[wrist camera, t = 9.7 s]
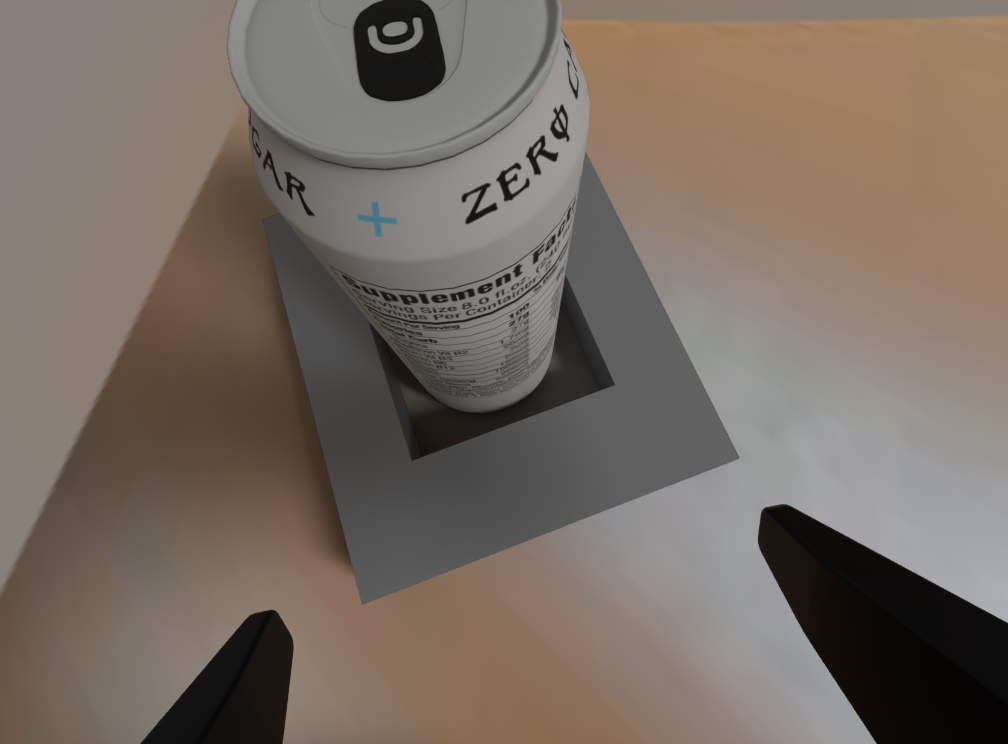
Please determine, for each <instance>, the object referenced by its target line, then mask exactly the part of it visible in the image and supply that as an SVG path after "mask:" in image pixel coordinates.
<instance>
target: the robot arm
mask: <svg viewBox="0 0 1008 744" xmlns="http://www.w3.org/2000/svg"><path fill="white" fill-rule="evenodd" d="M758 544H759V548H760V551H761V553H762V555H763V557H764V558H765V560H766V562H767V564H768V566H769V568H770V570H771V572H772V574H773V575H774V577H775V579H776V581H777V583H778V585H779V587H780V589H781V591H782V593H783V594H784V596H785V598H786V600H787V602H788V604H789V606H790V608H791V610H792V611H793V613H794V615H795V617H796V619H797V621H798V623H799V624H800V626H801V628H802V630H803V632H804V633H805V635H806V636H807V638H808V640H809V641H810V643H811V644H812V646H813V648H814V649H815V651H816V652H817V654H818V655H819V657H820V658H821V660H822V661H823V663H824V664H825V666H826V667H827V669H828V670H829V672H830V673H831V675H832V676H833V678H834V679H835V681H836V682H837V684H838V686H839V687H840V689H841V690H842V692H843V693H844V695H845V696H846V698H847V699H848V701H849V702H850V704H851V705H852V707H853V708H854V710H855V711H856V713H857V714H858V716H859V717H860V719H861V720H862V722H863V723H864V725H865V727H866V728H867V730H868V731H869V733H870V734H871V736H872V737H873V739H874V740H875V742H876V743H877V744H1008V623H1007V622H1005V621H1003V620H1001V619H999V618H998V617H996V616H994V615H992V614H990V613H988V612H986V611H985V610H983V609H981V608H979V607H977V606H975V605H973V604H972V603H970V602H968V601H966V600H964V599H962V598H960V597H959V596H957V595H955V594H953V593H951V592H949V591H947V590H946V589H944V588H942V587H940V586H938V585H936V584H934V583H933V582H931V581H929V580H927V579H925V578H923V577H921V576H920V575H918V574H916V573H914V572H912V571H910V570H908V569H907V568H905V567H903V566H901V565H899V564H897V563H895V562H894V561H892V560H890V559H888V558H886V557H884V556H882V555H881V554H879V553H877V552H875V551H873V550H871V549H869V548H868V547H866V546H864V545H862V544H860V543H858V542H856V541H855V540H853V539H851V538H849V537H847V536H845V535H843V534H842V533H840V532H838V531H836V530H834V529H832V528H830V527H828V526H827V525H825V524H823V523H821V522H819V521H817V520H815V519H814V518H812V517H810V516H808V515H806V514H804V513H802V512H801V511H799V510H797V509H795V508H793V507H791V506H789V505H786V504H780V505H775V506H770V507H766V508H764V509H763V510H762V512H761V518H760V525H759V533H758ZM293 649H294V647H293V639H292V636H291V634H290V632H289V631H288V629H287V627H286V626H285V624H284V622H283V621H282V619H281V617H280V616H279V614H278V613H277V612H276V611H274V610H268V611H263V612H258V613H254V614H252V615H250V616H249V617H248V618H247V619H246V620H245V621H244V622H243V623H242V624H241V625H240V627H239V628H238V629H237V630H236V631H235V633H234V634H233V635H232V636H231V637H230V638H229V640H228V641H227V642H226V643H225V644H224V646H223V647H222V648H221V649H220V650H219V651H218V653H217V654H216V655H215V656H214V657H213V659H212V660H211V661H210V662H209V663H208V664H207V666H206V667H205V668H204V669H203V670H202V672H201V673H200V674H199V675H198V676H197V677H196V679H195V680H194V681H193V682H192V683H191V685H190V686H189V687H188V688H187V689H186V690H185V692H184V693H183V694H182V695H181V696H180V697H179V699H178V700H177V701H176V702H175V703H174V705H173V706H172V707H171V708H170V709H169V710H168V712H167V713H166V714H165V715H164V716H163V718H162V719H161V720H160V721H159V722H158V723H157V725H156V726H155V727H154V728H153V729H152V731H151V732H150V733H149V734H148V735H147V736H146V738H145V739H144V740H143V741H142V742H141V744H282V743H283V736H284V729H285V720H286V711H287V703H288V694H289V685H290V676H291V668H292V659H293Z"/></svg>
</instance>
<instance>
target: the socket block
mask: <svg viewBox="0 0 1008 744" xmlns="http://www.w3.org/2000/svg"><path fill="white" fill-rule="evenodd" d="M263 223H264V227H265V231H266V234H267V238H268V242H269V246H270V250H271V254H272V258H273V261H274V265H275V269H276V273H277V277H278V281H279V285H280V289H281V292H282V296H283V300H284V304H285V308H286V312H287V316H288V319H289V323H290V327H291V331H292V335H293V339H294V343H295V347H296V350H297V354H298V358H299V362H300V366H301V370H302V374H303V377H304V381H305V385H306V389H307V393H308V397H309V401H310V405H311V408H312V412H313V416H314V420H315V424H316V428H317V432H318V435H319V439H320V443H321V447H322V451H323V455H324V459H325V463H326V466H327V470H328V474H329V478H330V482H331V486H332V490H333V493H334V497H335V501H336V505H337V509H338V513H339V517H340V521H341V524H342V528H343V532H344V536H345V540H346V544H347V548H348V551H349V555H350V559H351V563H352V567H353V571H354V575H355V579H356V582H357V586H358V590H359V594H360V598H361V602H362V604H365V603H368V602H370V601H373V600H375V599H378V598H381V597H383V596H386V595H388V594H391V593H393V592H396V591H399V590H401V589H404V588H406V587H409V586H412V585H414V584H417V583H419V582H422V581H424V580H427V579H430V578H432V577H435V576H437V575H440V574H442V573H445V572H448V571H450V570H453V569H455V568H458V567H461V566H463V565H466V564H468V563H471V562H473V561H476V560H479V559H481V558H484V557H486V556H489V555H491V554H494V553H497V552H499V551H502V550H504V549H507V548H510V547H512V546H515V545H517V544H520V543H522V542H525V541H528V540H530V539H533V538H535V537H538V536H541V535H543V534H546V533H548V532H551V531H553V530H556V529H559V528H561V527H564V526H566V525H569V524H571V523H574V522H577V521H579V520H582V519H584V518H587V517H590V516H592V515H595V514H597V513H600V512H602V511H605V510H608V509H610V508H613V507H615V506H618V505H621V504H623V503H626V502H628V501H631V500H633V499H636V498H639V497H641V496H644V495H646V494H649V493H651V492H654V491H657V490H659V489H662V488H664V487H667V486H670V485H672V484H675V483H677V482H680V481H682V480H685V479H688V478H690V477H693V476H695V475H698V474H700V473H703V472H706V471H708V470H711V469H713V468H716V467H719V466H721V465H724V464H726V463H729V462H731V461H734V460H737V459H739V456H738V454H737V452H736V450H735V448H734V446H733V444H732V442H731V440H730V438H729V436H728V434H727V432H726V430H725V428H724V426H723V424H722V422H721V420H720V418H719V416H718V414H717V412H716V410H715V408H714V406H713V404H712V402H711V400H710V398H709V396H708V394H707V392H706V390H705V388H704V386H703V384H702V382H701V380H700V378H699V376H698V374H697V372H696V370H695V368H694V366H693V364H692V362H691V360H690V358H689V356H688V354H687V352H686V350H685V348H684V346H683V344H682V342H681V340H680V338H679V336H678V334H677V332H676V331H675V329H674V327H673V325H672V323H671V321H670V319H669V317H668V315H667V313H666V311H665V309H664V307H663V305H662V303H661V301H660V299H659V297H658V295H657V293H656V291H655V289H654V287H653V285H652V283H651V281H650V279H649V277H648V275H647V273H646V271H645V269H644V267H643V265H642V263H641V261H640V259H639V257H638V255H637V253H636V251H635V249H634V247H633V245H632V243H631V241H630V239H629V237H628V235H627V233H626V231H625V229H624V227H623V225H622V223H621V221H620V219H619V217H618V215H617V213H616V211H615V209H614V207H613V205H612V203H611V201H610V199H609V197H608V195H607V193H606V191H605V189H604V187H603V185H602V183H601V181H600V179H599V177H598V175H597V173H596V171H595V169H594V167H593V166H592V164H591V162H590V160H589V158H588V156H587V154H586V152H585V156H584V162H583V169H582V175H581V181H580V187H579V193H578V199H577V205H576V211H575V217H574V224H573V230H572V236H571V242H570V248H569V254H568V260H567V266H566V273H565V279H564V285H563V291H562V297H561V301H562V303H563V306H564V308H565V310H566V312H567V315H568V317H569V319H570V321H571V324H572V326H573V328H574V331H575V333H576V335H577V337H578V340H579V342H580V344H581V347H582V349H583V351H584V353H585V356H586V358H587V360H588V362H589V365H590V367H591V369H592V372H593V374H594V376H595V378H596V381H597V383H598V385H599V388H600V390H601V391H598V392H595V393H593V394H590V395H587V396H584V397H582V398H579V399H576V400H574V401H571V402H568V403H566V404H563V405H560V406H558V407H555V408H552V409H550V410H547V411H544V412H542V413H539V414H536V415H534V416H531V417H528V418H525V419H523V420H520V421H517V422H515V423H512V424H509V425H507V426H504V427H501V428H499V429H496V430H493V431H491V432H488V433H485V434H483V435H480V436H477V437H475V438H472V439H469V440H466V441H464V442H461V443H458V444H456V445H453V446H450V447H448V448H445V449H442V450H440V451H437V452H434V453H432V454H429V455H426V456H424V457H422V454H421V451H420V448H419V445H418V442H417V439H416V435H415V432H414V429H413V426H412V423H411V420H410V417H409V413H408V410H407V407H406V404H405V401H404V398H403V394H402V391H401V388H400V385H399V382H398V379H397V375H396V372H395V369H394V366H393V363H392V360H391V357H390V353H389V350H388V347H387V344H386V341H385V340H384V338H383V337H382V336H381V335H380V334H379V332H378V331H377V330H376V329H375V328H374V326H373V325H372V324H371V323H370V322H369V320H368V319H367V318H366V317H365V316H364V314H363V313H362V312H361V311H360V310H359V308H358V307H357V306H356V305H355V304H354V302H353V301H352V300H351V299H350V298H349V296H348V295H347V294H346V293H345V292H344V290H343V289H342V288H341V287H340V285H339V284H338V283H337V282H336V281H335V279H334V278H333V277H332V276H331V275H330V273H329V272H328V271H327V270H326V269H325V267H324V266H323V265H322V264H321V263H320V261H319V260H318V259H317V258H316V257H315V255H314V254H313V253H312V252H311V251H310V249H309V248H308V247H307V246H306V245H305V243H304V242H303V241H302V240H301V239H300V237H299V236H298V235H297V234H296V233H295V231H294V230H293V229H292V228H291V227H290V225H289V224H288V223H287V222H286V221H285V219H284V218H283V217H282V216H281V214H277V215H274V216H271V217H268V218H265V219H263Z"/></svg>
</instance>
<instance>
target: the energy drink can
mask: <svg viewBox="0 0 1008 744" xmlns="http://www.w3.org/2000/svg"><path fill="white" fill-rule="evenodd" d="M561 22H562V9H561V2H560V0H236V3H235V6H234V9H233V12H232V15H231V18H230V21H229V27H228V39H227V53H228V59H229V65H230V70H231V75H232V77H233V79H234V81H235V84H236V86H237V88H238V90H239V92H240V94H241V97H242V98H243V100H244V102H245V103H246V105H247V106H248V108H249V141H250V147H251V152H252V158H253V163H254V169H255V172H256V174H257V177H258V179H259V181H260V183H261V185H262V188H263V190H264V192H265V194H266V196H267V198H268V199H269V200H270V202H271V203H272V204H273V205H274V207H275V208H276V209H277V210H278V212H279V213H280V214H281V216H282V217H283V218H284V219H285V221H286V222H287V223H288V224H289V225H290V227H291V228H292V229H293V230H294V231H295V233H296V234H297V235H298V236H299V237H300V239H301V240H302V241H303V242H304V243H305V245H306V246H307V247H308V248H309V249H310V251H311V252H312V253H313V254H314V255H315V257H316V258H317V259H318V260H319V261H320V263H321V264H322V265H323V266H324V267H325V269H326V270H327V271H328V272H329V273H330V275H331V276H332V277H333V278H334V279H335V281H336V282H337V283H338V284H339V285H340V287H341V288H342V289H343V290H344V292H345V293H346V294H347V295H348V296H349V298H350V299H351V300H352V301H353V302H354V304H355V305H356V306H357V307H358V308H359V310H360V311H361V312H362V313H363V314H364V316H365V317H366V318H367V319H368V320H369V322H370V323H371V324H372V325H373V326H374V328H375V329H376V330H377V331H378V332H379V334H380V335H381V336H382V337H383V338H384V340H385V341H386V342H387V343H388V344H389V346H390V347H391V348H392V349H393V350H394V352H395V353H396V354H397V355H398V356H399V358H400V359H401V360H402V361H403V362H404V364H405V365H406V366H407V367H408V369H409V370H410V371H411V372H412V373H413V375H414V376H415V377H416V378H417V379H418V381H419V382H420V383H421V384H422V385H423V387H424V388H425V389H426V390H427V391H428V393H430V394H431V395H432V396H433V397H434V398H436V399H437V400H438V401H439V402H441V403H443V404H445V405H447V406H449V407H451V408H453V409H457V410H460V411H463V412H470V413H489V412H496V411H499V410H502V409H506V408H509V407H511V406H513V405H514V404H516V403H518V402H520V401H522V400H523V399H524V398H525V397H527V396H528V395H529V394H530V393H532V392H533V390H534V389H535V388H536V387H537V386H538V384H539V383H540V382H541V381H542V379H543V377H544V375H545V373H546V371H547V370H548V367H549V364H550V360H551V357H552V352H553V346H554V340H555V334H556V328H557V321H558V315H559V309H560V303H561V297H562V291H563V285H564V279H565V273H566V266H567V260H568V254H569V248H570V242H571V236H572V230H573V224H574V217H575V211H576V205H577V199H578V193H579V187H580V181H581V175H582V169H583V162H584V156H585V150H586V144H587V138H588V129H589V114H590V103H589V97H588V91H587V86H586V80H585V77H584V74H583V72H582V70H581V67H580V65H579V63H578V61H577V58H576V56H575V54H574V52H573V49H572V47H571V46H570V44H569V42H568V40H567V38H566V36H565V35H564V33H563V31H562V29H561Z"/></svg>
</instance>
